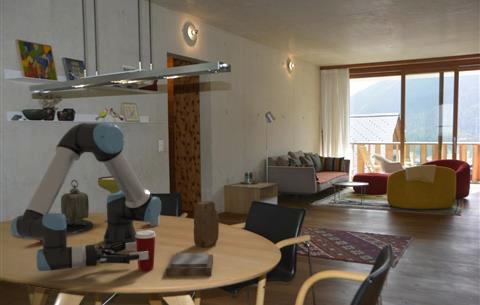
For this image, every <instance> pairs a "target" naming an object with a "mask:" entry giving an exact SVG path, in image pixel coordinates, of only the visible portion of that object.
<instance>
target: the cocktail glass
mask: <svg viewBox="0 0 480 305" xmlns="http://www.w3.org/2000/svg"><path fill="white" fill-rule="evenodd" d="M97 178H98V179H97V185H98V186H99V187H100V188H101V189H104V190H105V191H108V192H110V194H113V193H120V192H121V190H120V188H119V187H118V185H117V183H116V182H115V180H114V179H113V177H112V176H111V175H110V176H103V177H102V176H101V177H97ZM104 222H105V223H107V219H105V221H104Z"/></svg>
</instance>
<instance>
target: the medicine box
mask: <svg viewBox="0 0 480 305" xmlns="http://www.w3.org/2000/svg"><path fill="white" fill-rule="evenodd" d="M160 222H161V214H160V215H159V217H158V218H157V220H156V221H154V222H149V223H150V225H149V226H150V227H158V226H160Z"/></svg>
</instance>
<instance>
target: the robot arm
mask: <svg viewBox="0 0 480 305" xmlns="http://www.w3.org/2000/svg"><path fill="white" fill-rule="evenodd" d="M124 138H125V137H124V133H123V131H122V130H121V128H120V127H119V126H117V125H116V124H114V123H110V122H109V123H108V122H100V123H99V122H97V123H95V122H93V123H91V122H90V123H87V122H85V123H84V122H83V123H78V124H76V125H74V126H73V127H71V128H70V129H68V130H67V131H66V133H65V134H64V135H63V136H62V137H61V138H60V140H59V142H58V143H57V145H56V146H55V149H54V150H55V155H54V156H53V158H52V160H51V162H50V164H49V165H48V167H47V170H46V171H45V173H44V174H43V177H42V178H41V181H40V183H39V184H38V186H37V188H36V190H35V192H34V193H33V195H32V197H31V199H30V200H29V203H28V205H27V207H26V208H25V210H24V212H23V214H22V215H17V216H15V217H14V218H13V219H12V221H11V224H10V231H11V233H12V234H13V235H14V236H17V237H19V238H25V239H34V240H37V239H39V240H43V242H42V248H41V249H38V250H37V251H36V268H37V270H38V271H39V272H46V271H47V272H49V271H50V272H54V271H60V270H66V269H69V270H70V269H75V270H78V269H79V268H84V267H88V268H89V267H95V266H97V265H98V261H99V263H100V264H125V265H129V264H130V262H133V261H138V260H144V259H148V251H144V252H137V245H136V237H135V235H136V233H137V231H136V229H135V226H134V222H140V223H150V222H154V221H156V220H157V218H158V217H159V215H160V216H161V211H162V201H161V199H160V197H158V196H152V194H151V192H150V191H149V190H148V189H147V188H144V187H143V185H142V183H141V182H140V180H139V179H138V177H137V175H136V173H135V171H134V170H133V168H132V166H131V164H130V163H129V162H128V160H127V157H126V156H125V155H124V153H123V150H124V145H125V144H124V143H125V140H124ZM85 153H92V155H93V156H94V158H95V160H96V161H97V162H99V163H103V164H104V166H105V168H106V169H107V171H108V173H109V174H110V176H112V177H113V179H114V180H115V182H116V183H117V185H118V187H119V188H120V191H119V192H118V193H113V194H112V193H110V194H108V195H107V198H106V220H107V222H106V223H107V224H106V228H105V233H104V234H103V243H104V244H105V245H99V246H98V248H97V244H95V243H94V244H87V245H83V244H82V245H73V246H68V245H67V243H68V240H67V234H68V233H67V232H68V231H67V230H68V228H67V227H68V226H67V225H68V224H67V219H66V216H65V215H64V214H62V213H61V212H51V213H49V212H50V211H51V209H52V207H53V205H54V203H55V201H56V199H57V198H58V195H59V193H60V191H61V189H62V187H63V185H64V183H65V181H66V179H67V177H68V175H69V173H70V172H71V169H72V168H73V165H74V164H75V162H76V161H79V160H80V158H81V156H82V155H83V154H85ZM39 240H38V241H39ZM122 251H135V252H129V253H121V252H122ZM130 265H131V264H130Z"/></svg>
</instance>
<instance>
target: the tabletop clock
mask: <svg viewBox="0 0 480 305" xmlns="http://www.w3.org/2000/svg"><path fill="white" fill-rule="evenodd" d="M73 182H75V183H76V184H73ZM70 184H71V186H72V188H71V189H70V190H69V192H67V193H64V194H62V195H61V198H60V208H61V209H60V210H61V212H60V213H62V214H64V215H65V216H66V220H70V223H74V222H73V221H76V222H77V220H78V221H81V223H82V224H83V223H85V222H84V221H83V220H84V219H88V218H89V212H90V211H89V210H90V209H89V207H90V206H89V204H90V202H89V195H88V194H87V193H85V192H82V191H80V189H79V188H78V186H79V182H78V181H77V180H76V179H73V180H71V183H70Z"/></svg>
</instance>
